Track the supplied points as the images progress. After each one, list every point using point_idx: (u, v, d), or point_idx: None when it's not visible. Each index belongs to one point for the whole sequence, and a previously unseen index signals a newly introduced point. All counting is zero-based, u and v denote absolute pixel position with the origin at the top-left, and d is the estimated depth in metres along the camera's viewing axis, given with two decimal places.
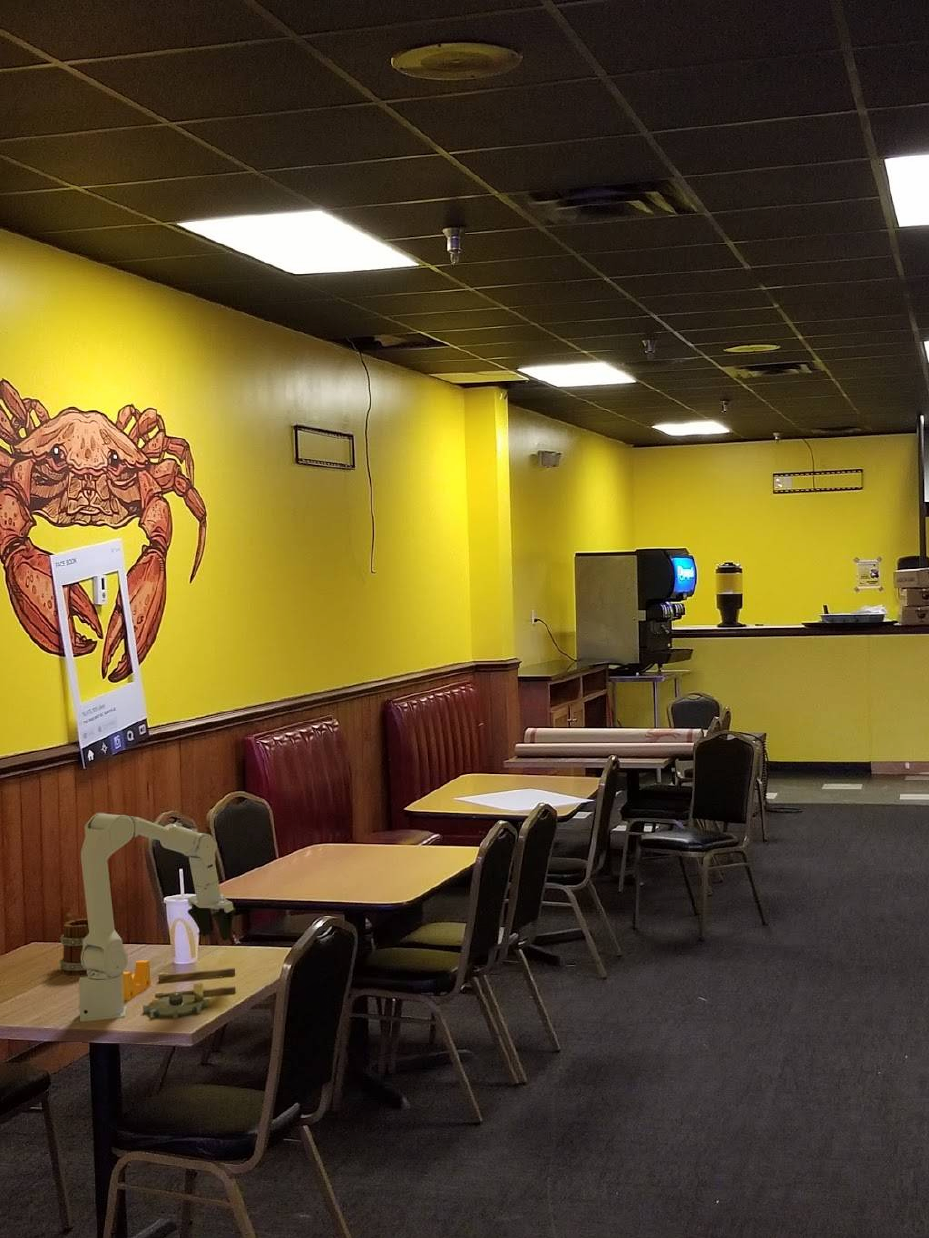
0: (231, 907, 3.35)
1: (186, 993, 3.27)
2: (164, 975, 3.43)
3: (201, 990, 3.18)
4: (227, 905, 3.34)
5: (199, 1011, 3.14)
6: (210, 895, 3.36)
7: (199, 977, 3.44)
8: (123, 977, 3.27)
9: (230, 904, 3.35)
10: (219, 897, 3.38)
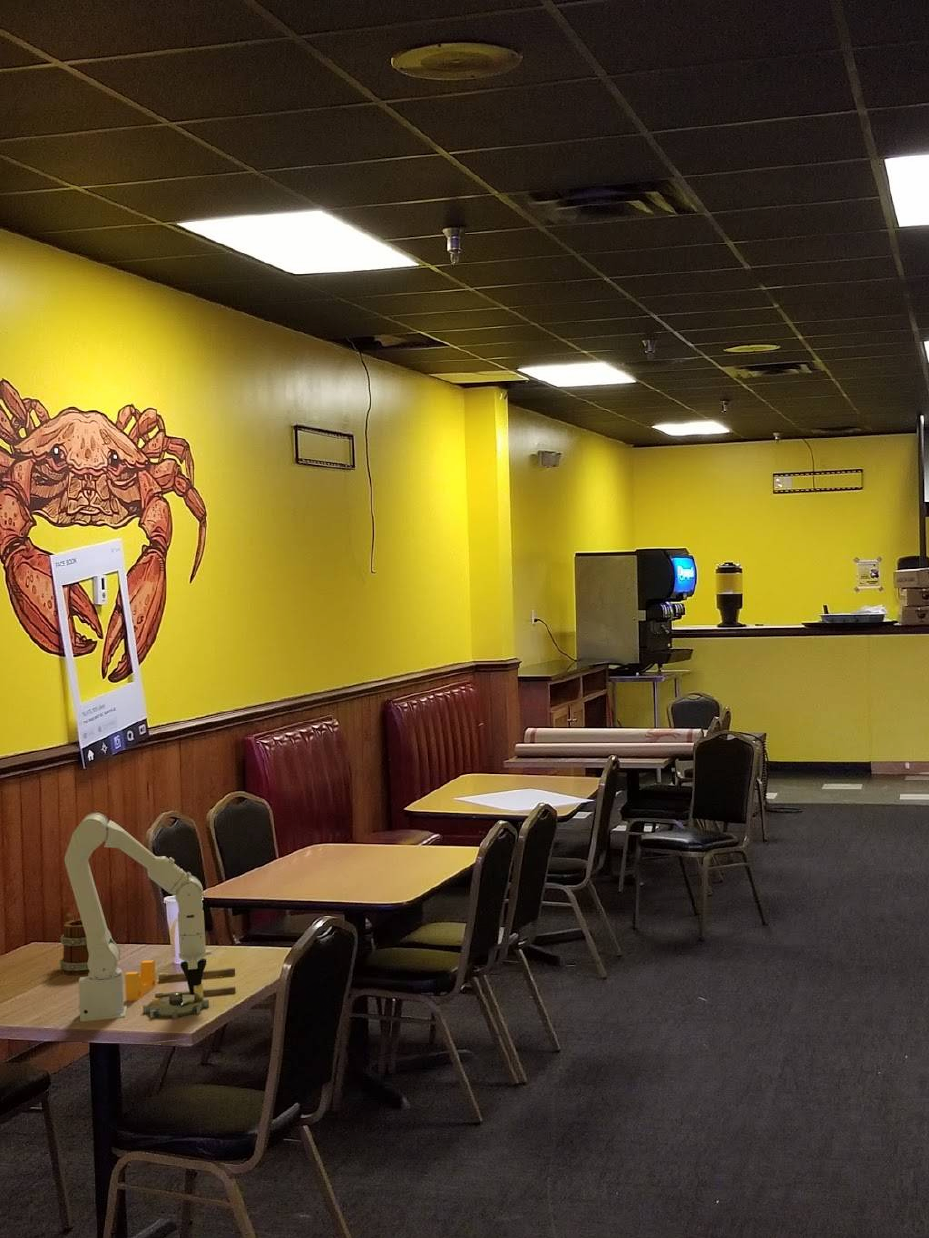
0: (194, 965, 3.13)
1: (186, 993, 3.27)
2: (164, 975, 3.43)
3: (201, 990, 3.18)
4: (189, 962, 3.13)
5: (199, 1011, 3.14)
6: (186, 947, 3.17)
7: None
8: (131, 977, 3.27)
9: (193, 962, 3.13)
10: (197, 952, 3.17)
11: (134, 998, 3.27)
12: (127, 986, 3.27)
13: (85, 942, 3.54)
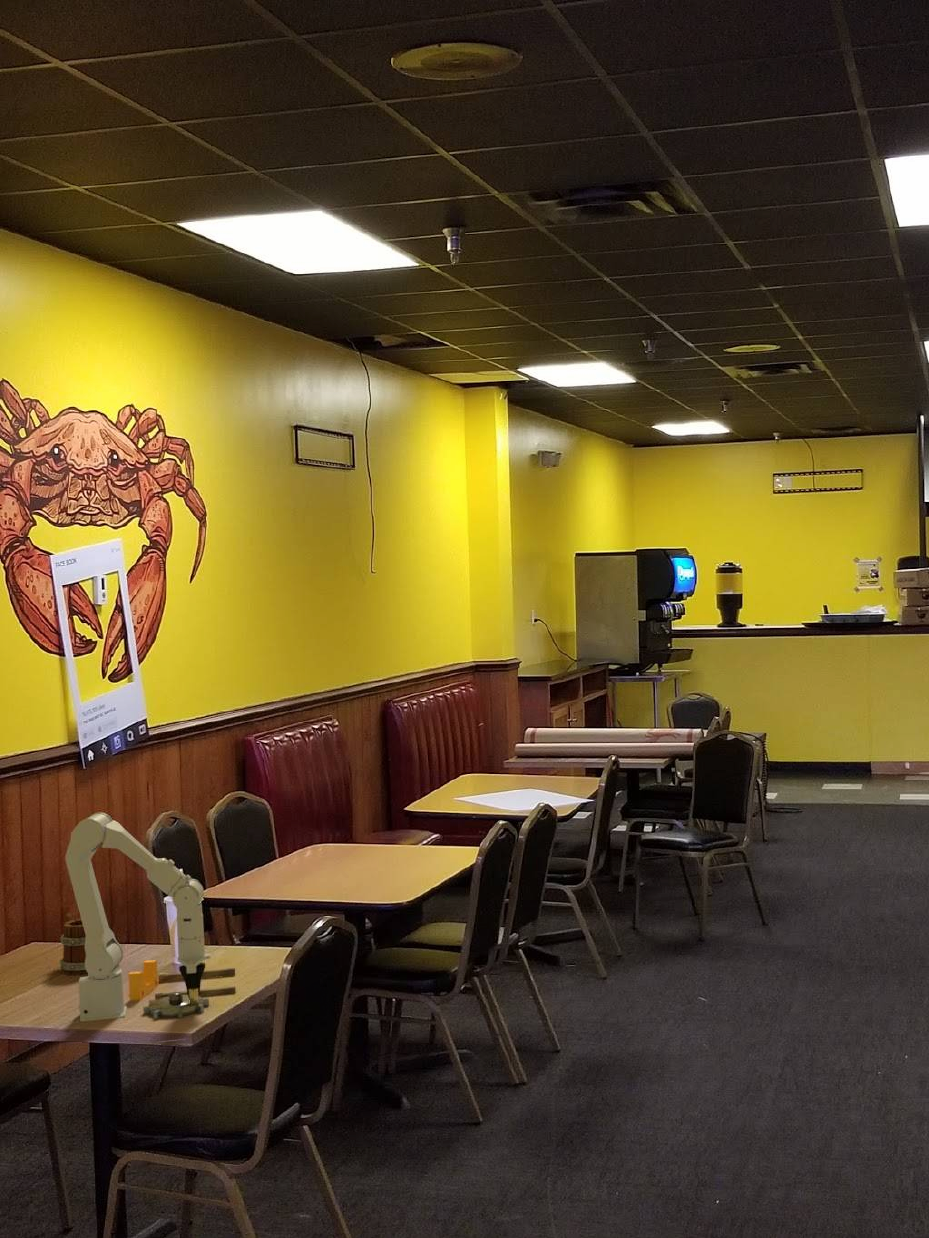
0: (193, 969, 3.10)
1: (186, 993, 3.27)
2: (164, 975, 3.43)
3: (194, 995, 3.14)
4: (188, 966, 3.10)
5: (180, 1016, 3.11)
6: (185, 950, 3.14)
7: None
8: (134, 977, 3.27)
9: (192, 966, 3.10)
10: (196, 956, 3.14)
11: (138, 998, 3.27)
12: (130, 986, 3.27)
13: None
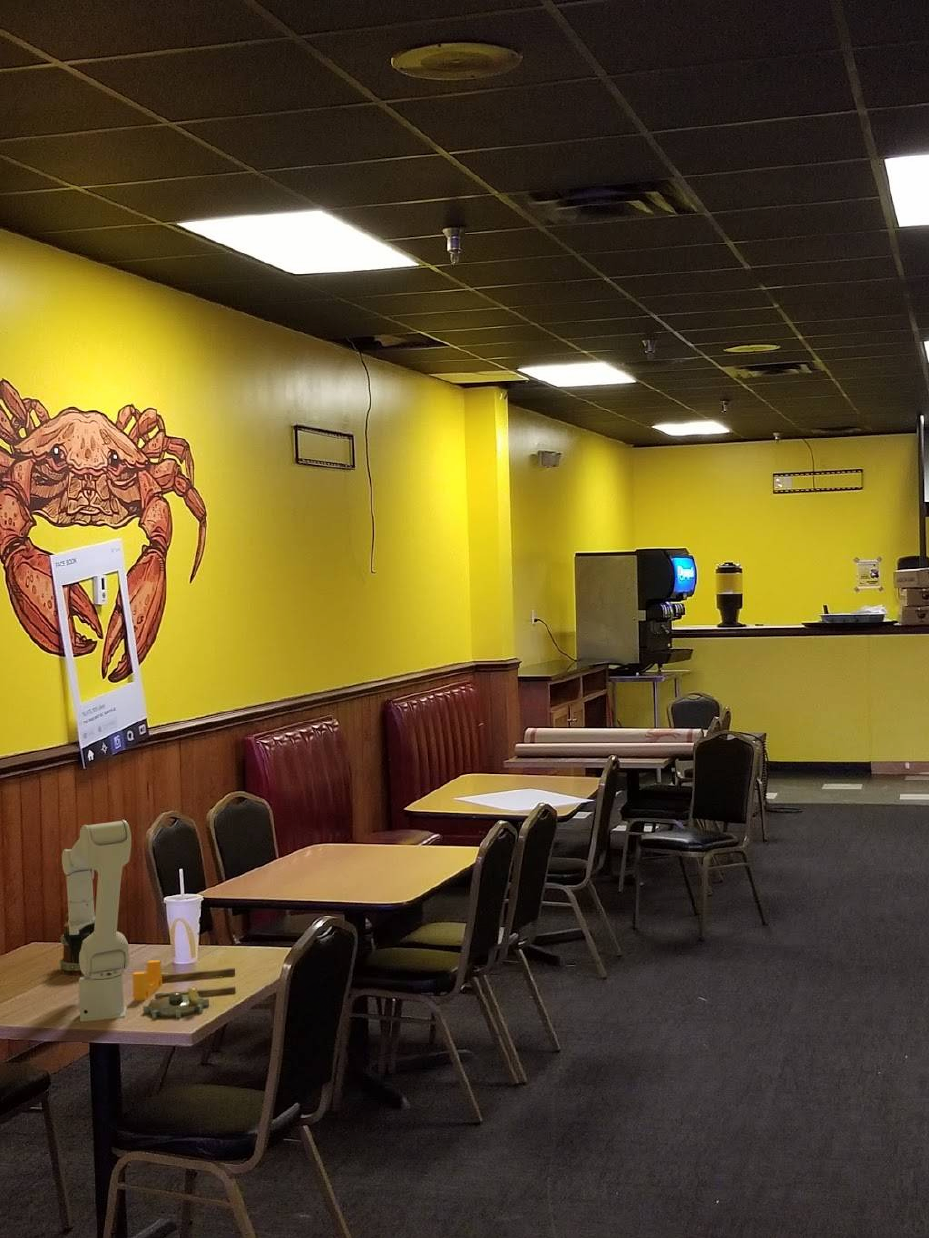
0: (75, 931, 3.24)
1: (186, 993, 3.27)
2: (164, 975, 3.43)
3: (193, 995, 3.14)
4: (71, 927, 3.24)
5: (179, 1016, 3.11)
6: (72, 913, 3.29)
7: (199, 977, 3.44)
8: (138, 977, 3.27)
9: (74, 928, 3.24)
10: (83, 919, 3.29)
11: (142, 998, 3.27)
12: (135, 986, 3.27)
13: None
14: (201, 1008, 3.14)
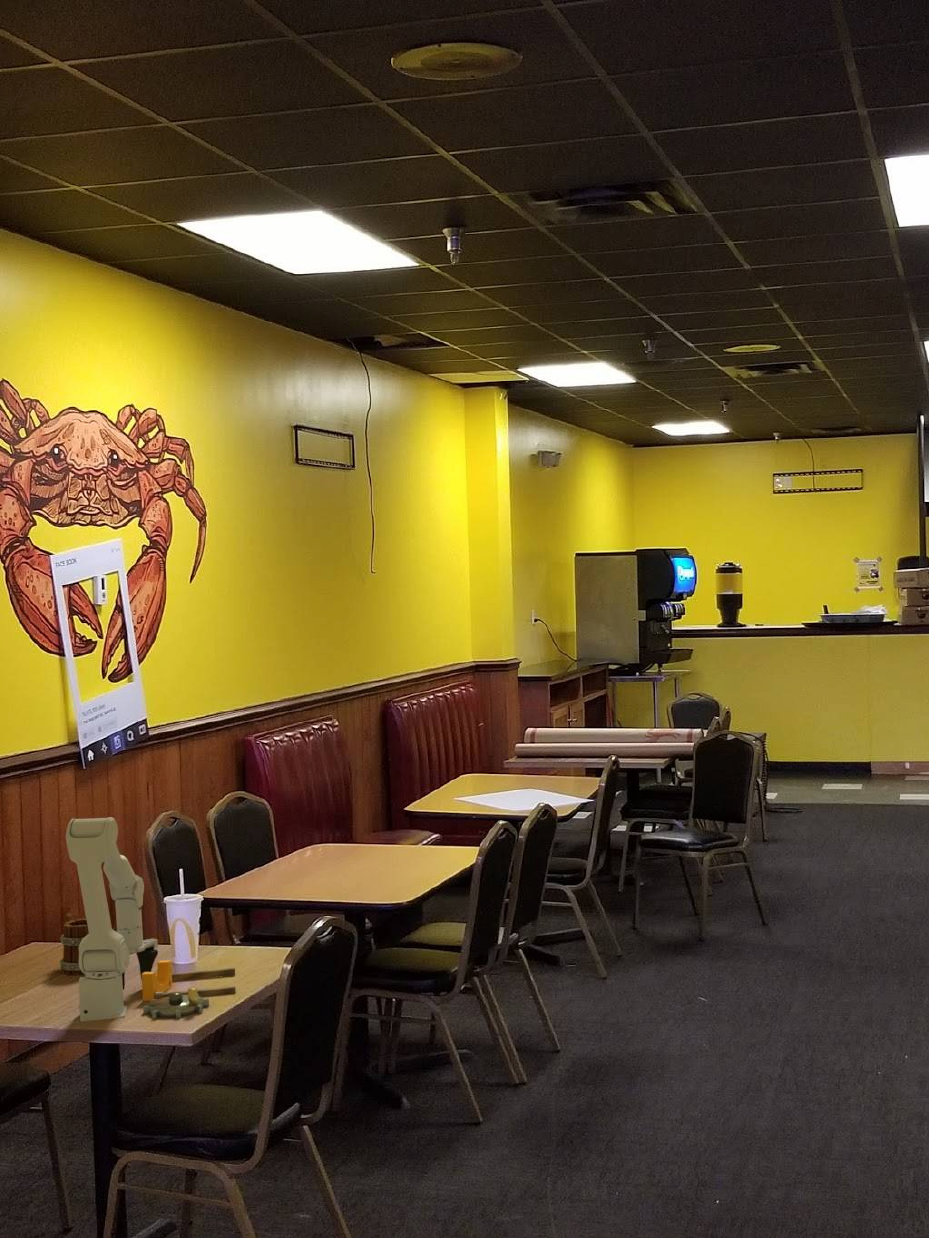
0: None
1: (186, 993, 3.27)
2: None
3: (193, 995, 3.14)
4: None
5: (179, 1016, 3.11)
6: None
7: (199, 977, 3.44)
8: (147, 977, 3.26)
9: None
10: None
11: (151, 998, 3.26)
12: (144, 986, 3.26)
13: None
14: (201, 1008, 3.14)
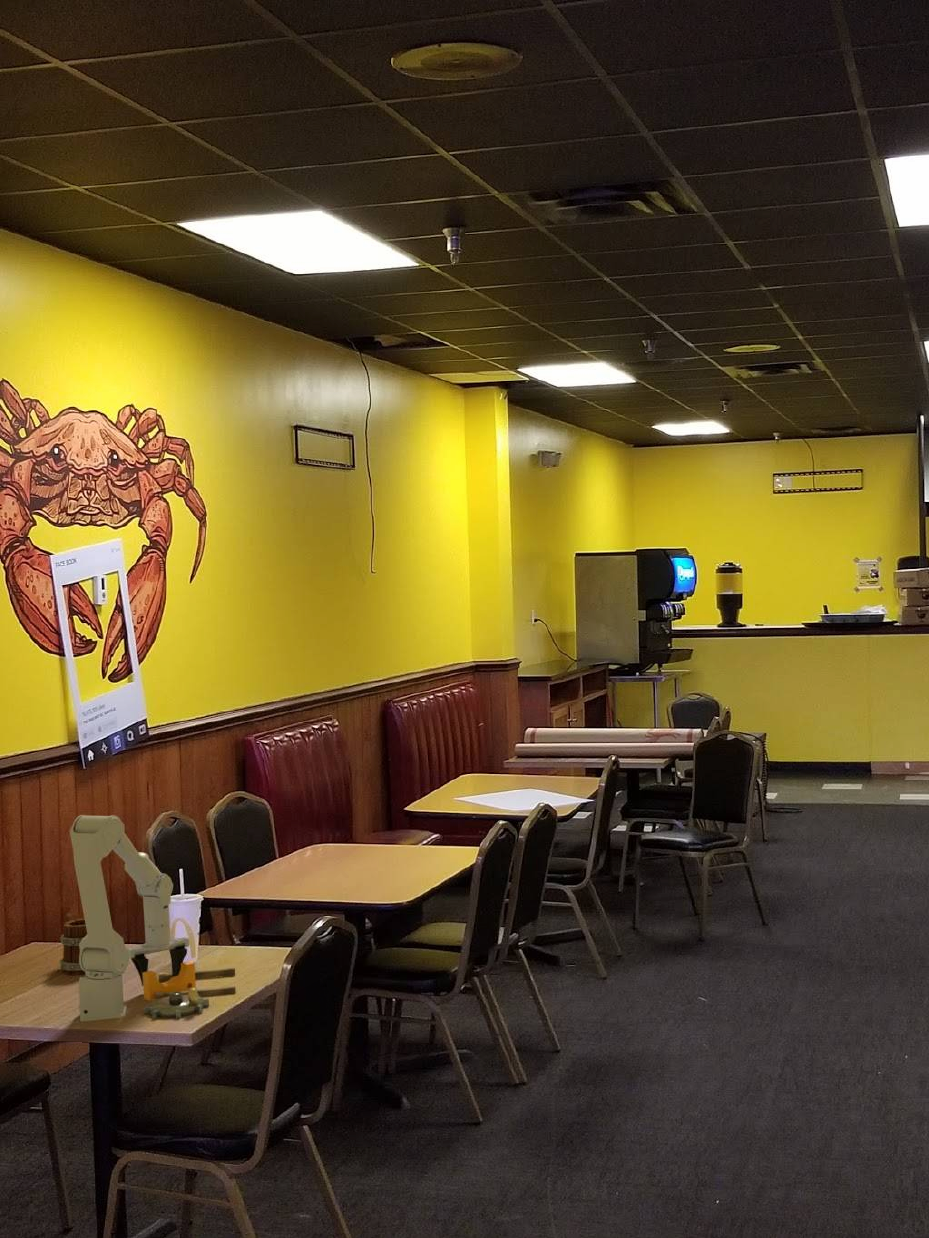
0: (129, 954, 3.30)
1: (186, 993, 3.27)
2: (164, 975, 3.43)
3: (193, 995, 3.14)
4: (128, 950, 3.31)
5: (179, 1016, 3.11)
6: (145, 936, 3.34)
7: (199, 977, 3.44)
8: (145, 977, 3.27)
9: (129, 951, 3.30)
10: (149, 943, 3.32)
11: (148, 998, 3.26)
12: (144, 985, 3.27)
13: None
14: (201, 1008, 3.14)
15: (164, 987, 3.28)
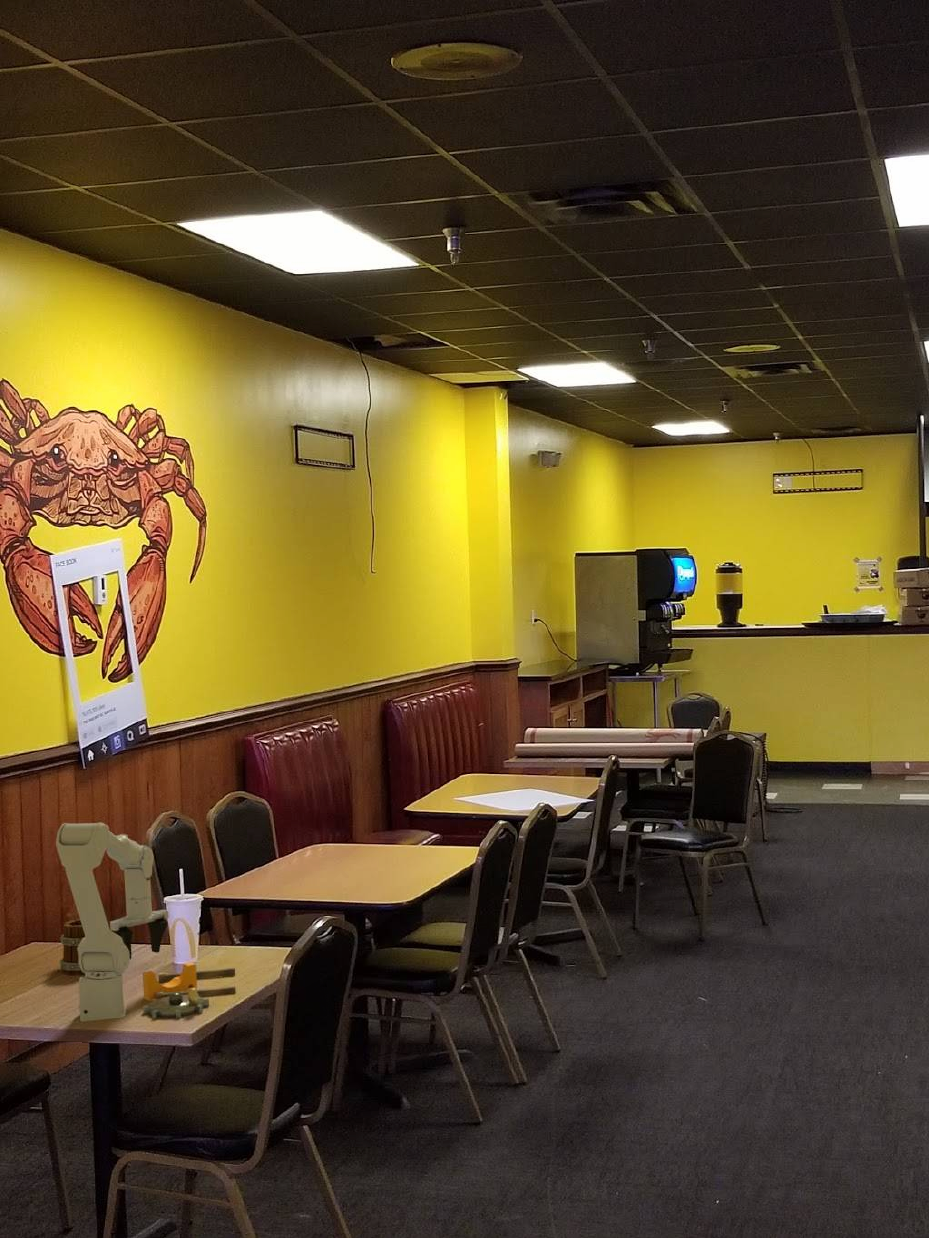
0: (113, 927, 3.28)
1: (186, 993, 3.27)
2: (164, 975, 3.43)
3: (193, 995, 3.14)
4: (111, 923, 3.29)
5: (179, 1016, 3.11)
6: (126, 909, 3.33)
7: (199, 977, 3.44)
8: (145, 977, 3.27)
9: (113, 924, 3.28)
10: (132, 916, 3.31)
11: (147, 998, 3.26)
12: (144, 985, 3.27)
13: None
14: (201, 1008, 3.14)
15: (164, 988, 3.28)
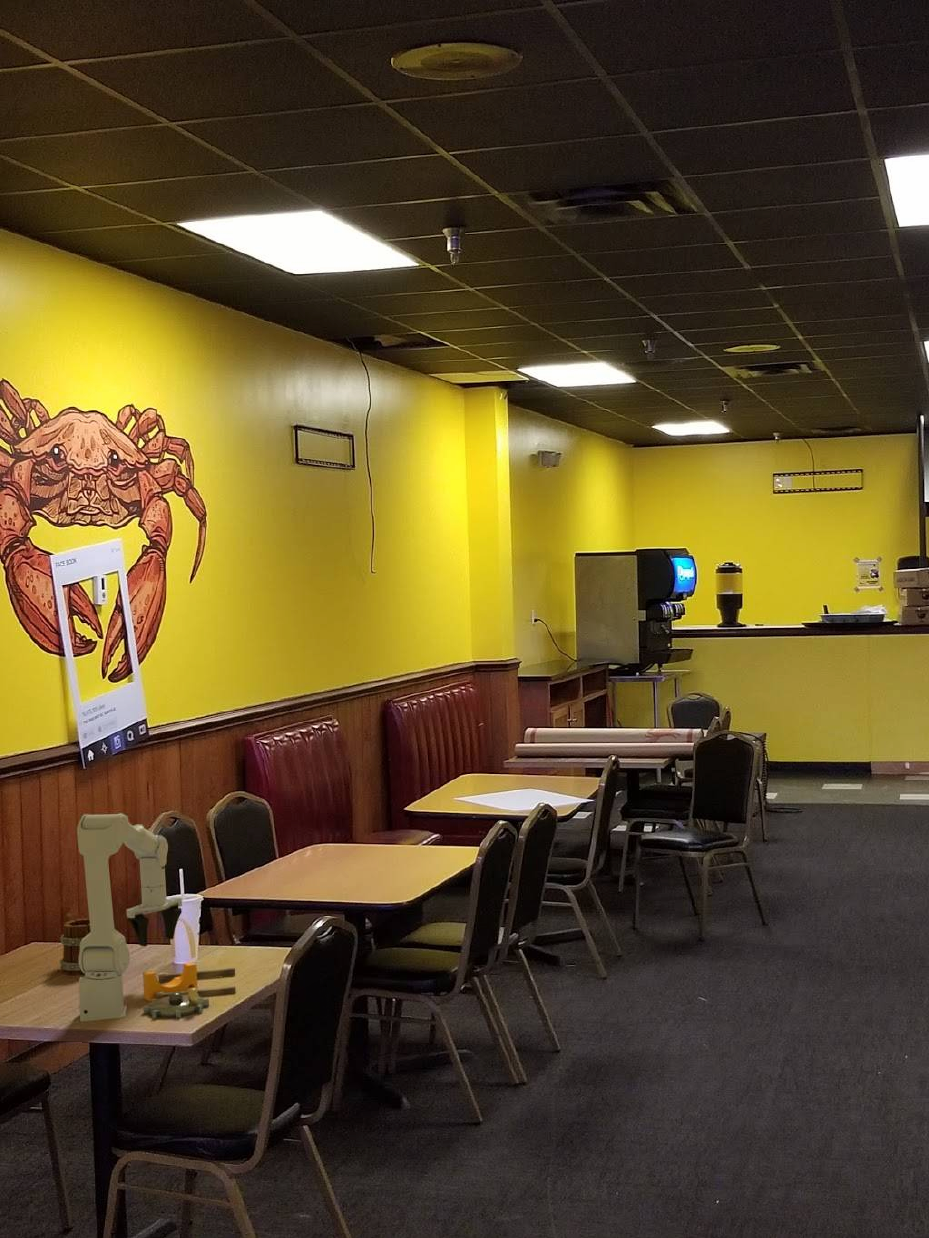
0: (130, 914, 3.37)
1: (186, 993, 3.27)
2: (164, 975, 3.43)
3: (193, 995, 3.14)
4: (127, 910, 3.38)
5: (179, 1016, 3.11)
6: None
7: (199, 977, 3.44)
8: (145, 977, 3.27)
9: (129, 911, 3.38)
10: (147, 904, 3.40)
11: (147, 998, 3.26)
12: (144, 985, 3.28)
13: None
14: (201, 1008, 3.14)
15: (164, 988, 3.28)
